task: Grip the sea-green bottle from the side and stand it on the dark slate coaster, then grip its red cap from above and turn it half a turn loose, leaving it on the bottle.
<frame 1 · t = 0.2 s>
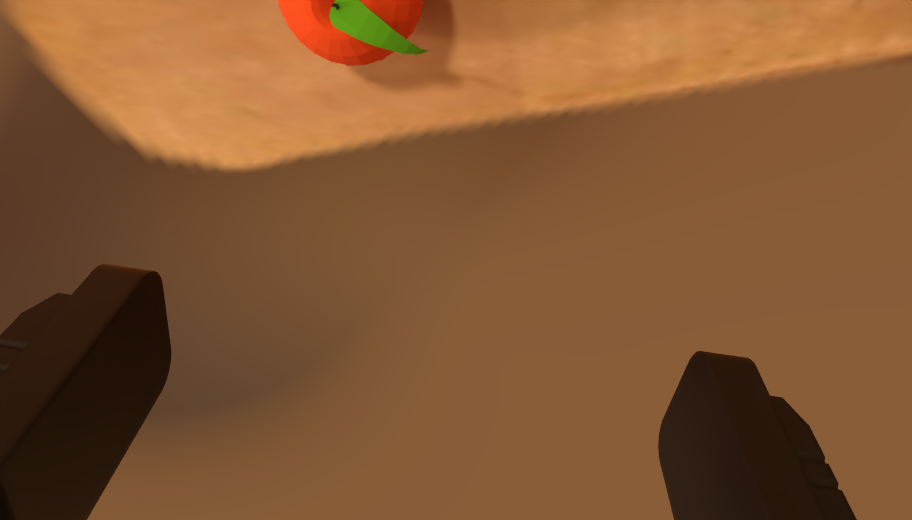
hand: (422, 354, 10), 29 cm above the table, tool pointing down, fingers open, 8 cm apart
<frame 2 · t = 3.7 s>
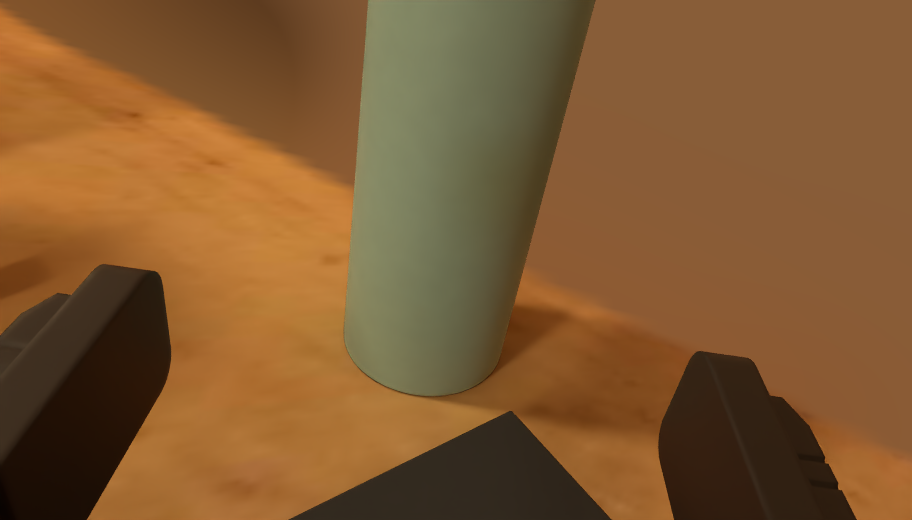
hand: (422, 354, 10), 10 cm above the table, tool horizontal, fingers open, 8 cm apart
bottle: (423, 336, 26), on the table
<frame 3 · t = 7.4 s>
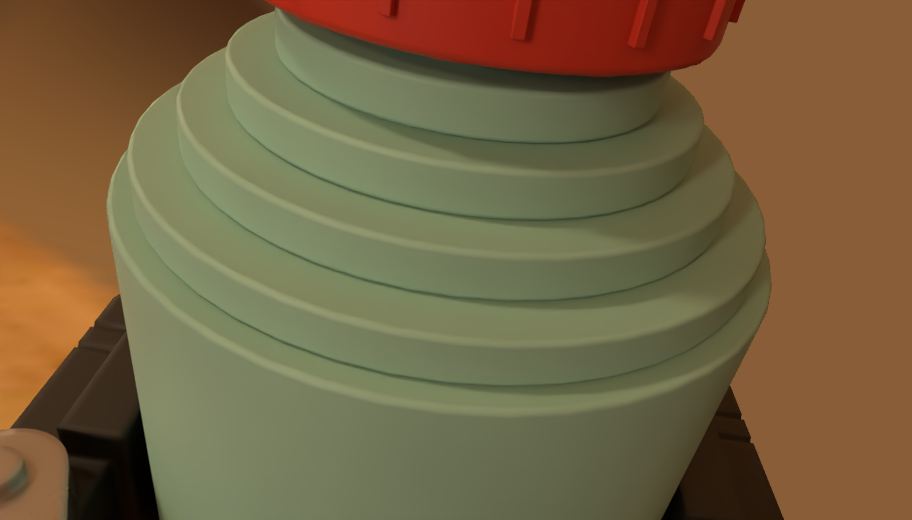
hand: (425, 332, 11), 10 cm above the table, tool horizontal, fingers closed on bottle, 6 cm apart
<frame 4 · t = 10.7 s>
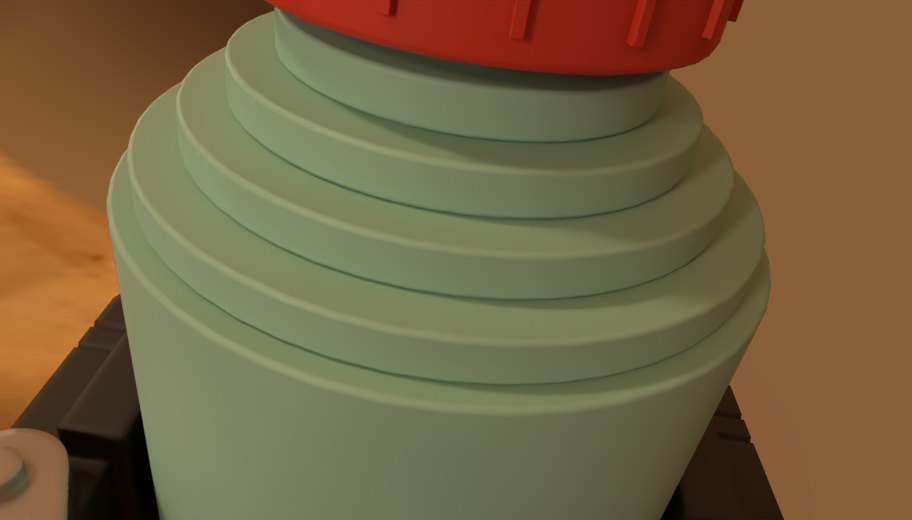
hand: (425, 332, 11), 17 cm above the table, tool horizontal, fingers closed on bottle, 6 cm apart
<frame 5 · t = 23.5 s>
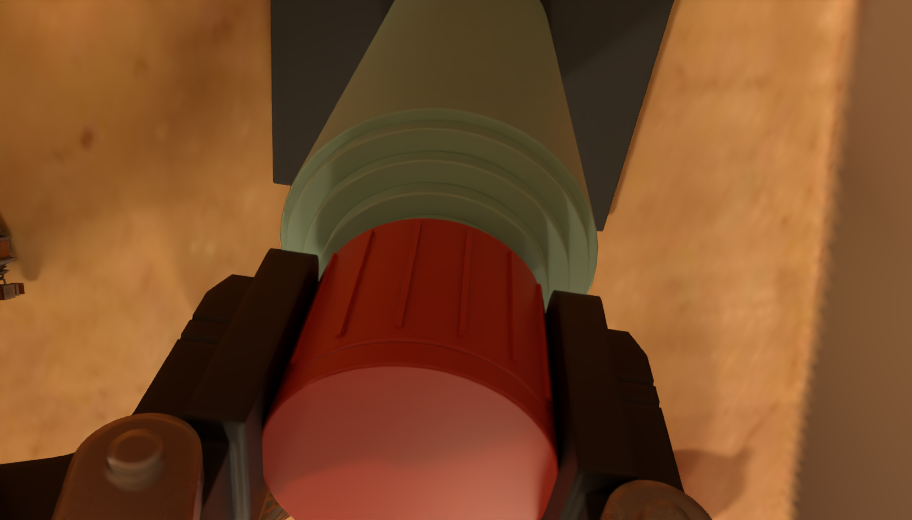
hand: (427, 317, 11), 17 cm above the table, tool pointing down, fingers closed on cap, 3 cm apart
bottle: (467, 46, 24), point 1 cm above the table, touching coaster
cap: (411, 451, 9), point 20 cm above the table, screwed on, not yet turned, touching gripper
coaster: (464, 33, 25), on the table
vase: (282, 386, 36), on the table
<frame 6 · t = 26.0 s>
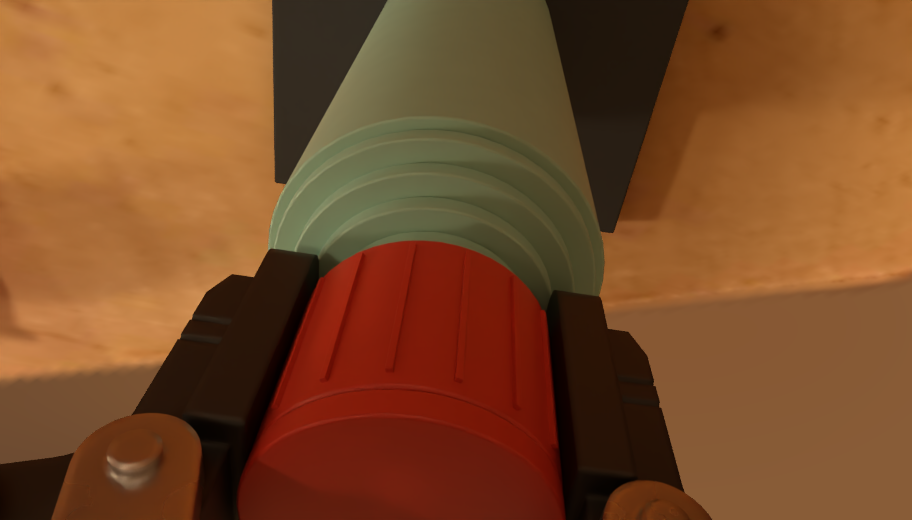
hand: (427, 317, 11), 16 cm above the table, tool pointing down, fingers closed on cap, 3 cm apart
bottle: (466, 41, 24), point 1 cm above the table, touching coaster, gripper
cap: (404, 500, 8), point 20 cm above the table, turned 90° so far, risen 0.1 cm, still on its thread, touching gripper
coaster: (472, 29, 24), on the table
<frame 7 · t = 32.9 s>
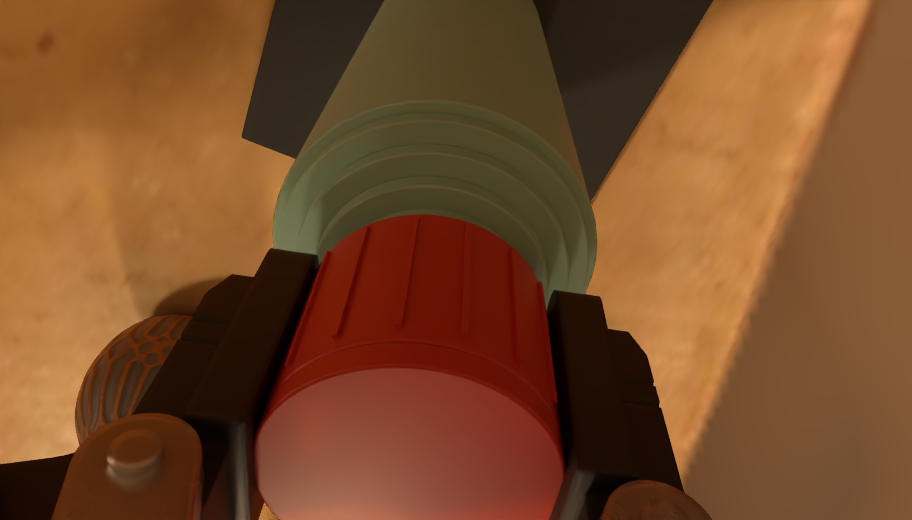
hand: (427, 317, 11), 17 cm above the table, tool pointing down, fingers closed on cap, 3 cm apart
bottle: (458, 44, 24), point 1 cm above the table, touching coaster
cap: (410, 456, 9), point 20 cm above the table, turned 105° so far, risen 0.1 cm, still on its thread, touching gripper
coaster: (472, 38, 25), on the table
vase: (194, 343, 35), on the table
when the fingers open (17 cm above the table, at t = 34.3 s): cap stays where it is, point 20 cm above the table.
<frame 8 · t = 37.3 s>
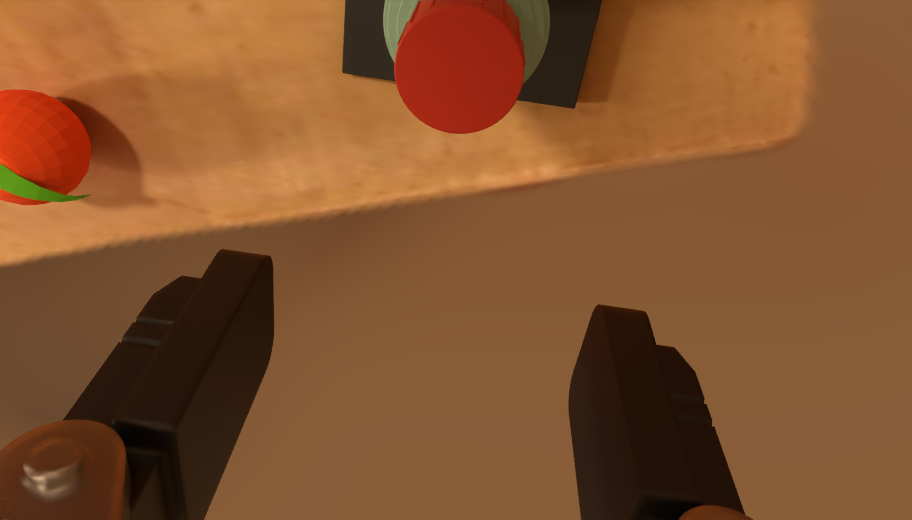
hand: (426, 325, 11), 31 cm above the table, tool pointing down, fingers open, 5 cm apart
clementine: (67, 129, 44), on the table
cap: (459, 69, 20), point 20 cm above the table, turned 180° so far, risen 0.2 cm, still on its thread
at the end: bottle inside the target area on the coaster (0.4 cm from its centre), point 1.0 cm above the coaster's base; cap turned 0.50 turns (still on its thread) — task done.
